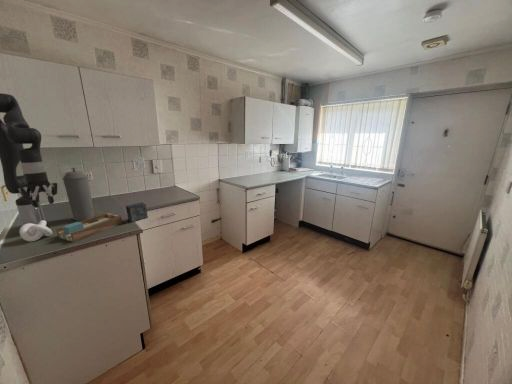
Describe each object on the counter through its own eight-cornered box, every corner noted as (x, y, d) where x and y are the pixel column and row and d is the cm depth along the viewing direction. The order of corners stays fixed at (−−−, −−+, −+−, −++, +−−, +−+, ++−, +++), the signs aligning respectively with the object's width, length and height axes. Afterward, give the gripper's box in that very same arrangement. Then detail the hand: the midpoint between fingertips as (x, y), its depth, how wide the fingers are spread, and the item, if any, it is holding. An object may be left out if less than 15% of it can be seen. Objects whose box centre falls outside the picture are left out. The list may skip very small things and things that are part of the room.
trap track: (58, 237, 115) (56, 229, 114) (107, 219, 139) (106, 213, 138) (74, 242, 110) (71, 233, 109) (122, 223, 134) (121, 216, 133)
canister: (68, 222, 134) (55, 169, 125) (78, 215, 146) (67, 166, 137) (91, 220, 138) (79, 168, 129) (99, 214, 149) (89, 166, 140)
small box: (144, 215, 147) (142, 201, 144) (148, 218, 143) (146, 203, 140) (127, 220, 139) (125, 205, 136) (131, 222, 135) (129, 207, 132)
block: (64, 233, 114) (62, 226, 112) (78, 228, 120) (77, 221, 119) (69, 234, 112) (67, 227, 111) (84, 229, 118) (82, 223, 117)
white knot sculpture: (60, 232, 120) (57, 218, 118) (40, 243, 109) (36, 227, 107) (40, 233, 120) (36, 218, 118) (18, 243, 109) (13, 227, 106)
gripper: (49, 169, 106) (57, 200, 110) (8, 173, 93) (19, 208, 97) (57, 169, 103) (65, 202, 108) (17, 174, 90) (28, 211, 95)
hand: (43, 205), depth 102 cm, fingers open, 5 cm apart
